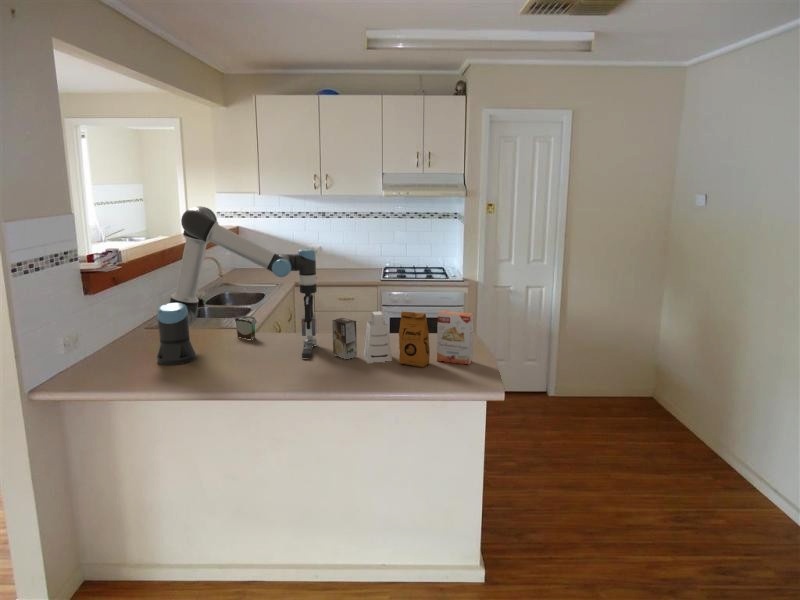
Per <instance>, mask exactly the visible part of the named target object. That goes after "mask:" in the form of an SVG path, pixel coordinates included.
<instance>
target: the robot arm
mask: <svg viewBox="0 0 800 600" xmlns="http://www.w3.org/2000/svg"><path fill="white" fill-rule="evenodd" d="M180 220H181V226H182V229H183V234H182V236H183V237H184V239H185V243H184V249H183V254H182V260H181V263H180V268H179V273H178V277H177V278H178V279H177V283H176V289H175V292H174V293H172V294H171V295H170V298H169V303H165V304H163V305H160V306H159V307H158V309H157V313H156V314H157V315H156V318H157V325H158V336H159V348H158V351H157V356H156V362H157V364H160V365H161V366H163V365H164V366H177V365H183V364H188V363H191V362H193V361H195V359H196V357H197V356H196V351H195V349H194V347H193V345H192V341H191V340H190V339H191V338H190V326H191V325H192V324H193V323H195V321H196V320H197V317H198V314H199V308H198V305H199V301H200V300H199V298H198V297H197V293H198V288H199V284H200V279H201V273H202V269H203V264H204V261H205V260H204V259H205V254H206V249H207V245H208V244H210V243H212V244H215V245H217V246H219V247H221V248H223V249H225V250H227V251H229V252H231V253H233V254H235V255H237V256H239V257H241V258H243V259H245V260H248V261H250V262H252V263H254V264H255V265H257V266H259V267H261V268H264V269H266V270H267V271H269V272H271V273H273V274H274V275H275V277H278V278H286V277H287V276H288V275H289V274H290V273H291V272H298V281H299V282H298V283H299V292H300V294H303V295H304V296H303V305H304V316H305V321H304V322H305V325H306V336H305V337H307V336H312V321H311V316H315V315H314V306H313V305H314V301H313V300H314V294H315V293H317V292H318V290H317V284H316V283H317V279H318V278H319V277H318V276H317V259H316V250H314V249H312V248H304V249H303V248H302V249H301V248H300V249H299V250H298V252H297V253H296V254H295V253H294V254H293V253H291V254H284V253H283V254H280V253H275V252H273V251H271V250H269V249H266V248H265V247H263V246H261V245H260V244H257V243H256V242H253V241H251V240H249V239H248V238H245V237H243V236H242V235H239V234H237V233H235V232H233V231H232V230H231V229H227V228H226V227H224V226H222V225H220V223H219V222H218V219H217V216H216V214H215V212H214V211H213V210H212V209H210V208H209V207H206V206H200V205H199V206H196V207H195V206H194V207H192V208H188V209H187V210H186V211H185V212H183V213H182V216H181V219H180Z"/></svg>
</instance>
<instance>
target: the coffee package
mask: <svg viewBox="0 0 800 600" xmlns="http://www.w3.org/2000/svg"><path fill="white" fill-rule="evenodd" d="M400 316H401V317H400V322H399V330H398V337H399V338H398V345H399V346H398V348H399V357H398V358H399V360H398V363H399V364H403V365H408V366H412V367H421V368H425V367H426V366H428V365H429V364H430V353H431V352H430V337H429V335H430V334H429V333H430V331H429V328H428V319H427V315H426V313H422V312H413V311H401V313H400ZM427 364H428V365H427Z"/></svg>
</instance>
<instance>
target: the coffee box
mask: <svg viewBox="0 0 800 600" xmlns="http://www.w3.org/2000/svg"><path fill="white" fill-rule="evenodd" d="M331 324H332V325H331V326H332V347H333V348H332V350H333V351H332V352H333V356H334V355H336V356H339V357H341V358H340V359H342V358H344V359H343V360H345V359H349V360H351V359H350V358H352V359H354V358H353V357H355V358H357V357H358V347H357V345H358V344H357V343H358V342H357V321H356V320H353V319H349V318H346V317H345V318H344V317H340V318H336V319H332V320H331ZM356 356H357V357H356ZM339 357H338V358H339Z"/></svg>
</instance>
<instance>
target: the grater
mask: <svg viewBox="0 0 800 600" xmlns="http://www.w3.org/2000/svg"><path fill="white" fill-rule="evenodd" d="M366 322H367V323H366V334H365V342H364V349H363V350H364V351H363V357H364V356H365V357H364V359H365V358H366V359H365V361H366V364H373V363H372V362H382V363H386V362H385V361H392V362H393V357H392V349H391V348H392V347H391V341H390V334H389V333H390V331H389V325H388V323H387V322H386V320H384V314H383V312H382V311H380V310H379V311H372V312H371V320H368V321H366ZM366 354H367V355H366ZM378 356H379V357H378Z"/></svg>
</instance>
